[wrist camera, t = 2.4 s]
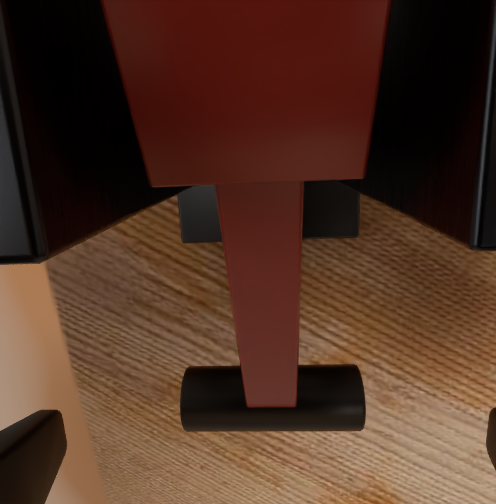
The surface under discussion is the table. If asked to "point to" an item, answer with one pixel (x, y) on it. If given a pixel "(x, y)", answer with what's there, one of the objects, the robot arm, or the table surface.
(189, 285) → the table surface
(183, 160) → the lever
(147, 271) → the table surface
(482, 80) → the bracket
